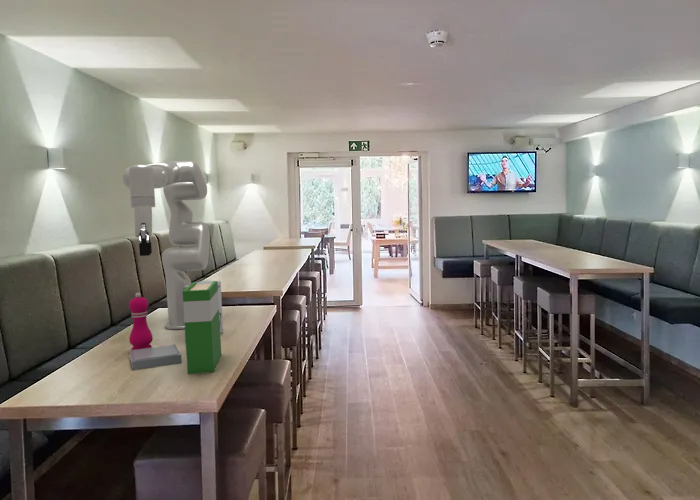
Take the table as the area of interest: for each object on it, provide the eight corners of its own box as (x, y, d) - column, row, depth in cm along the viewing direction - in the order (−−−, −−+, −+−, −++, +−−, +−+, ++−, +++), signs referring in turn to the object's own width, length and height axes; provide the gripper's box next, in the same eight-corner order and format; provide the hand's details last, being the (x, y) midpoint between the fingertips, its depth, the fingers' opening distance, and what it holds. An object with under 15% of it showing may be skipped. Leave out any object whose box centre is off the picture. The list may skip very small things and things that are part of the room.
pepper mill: (134, 349, 185) (130, 291, 183) (156, 348, 185) (152, 290, 183) (127, 355, 178) (123, 294, 176) (150, 354, 178) (146, 293, 176)
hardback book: (197, 356, 174) (193, 282, 172) (221, 354, 175) (217, 280, 173) (187, 373, 157) (182, 291, 154) (214, 372, 157) (209, 289, 155)
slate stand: (130, 358, 174) (129, 349, 174) (175, 351, 180) (175, 343, 180) (132, 370, 162) (132, 361, 161) (181, 362, 167) (181, 354, 167)
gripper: (132, 203, 187) (135, 253, 188) (128, 202, 170) (131, 256, 171) (156, 203, 189) (158, 252, 190) (154, 201, 173) (157, 255, 174)
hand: (145, 254), depth 181 cm, fingers open, 9 cm apart
